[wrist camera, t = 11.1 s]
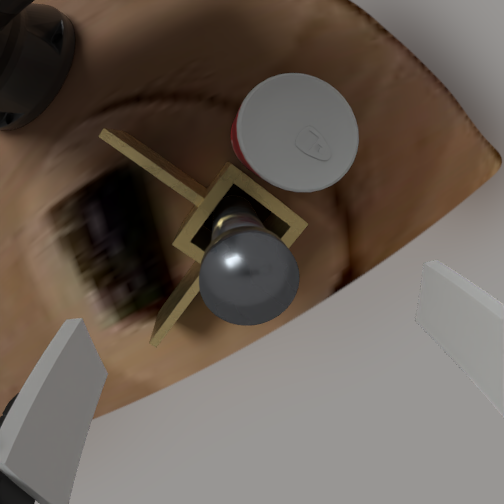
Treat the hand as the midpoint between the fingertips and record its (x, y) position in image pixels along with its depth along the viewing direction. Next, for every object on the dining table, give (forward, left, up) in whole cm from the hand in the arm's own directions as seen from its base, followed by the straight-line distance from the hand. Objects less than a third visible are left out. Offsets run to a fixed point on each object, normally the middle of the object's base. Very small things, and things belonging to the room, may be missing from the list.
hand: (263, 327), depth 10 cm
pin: (0, 0, -20) cm, 20 cm away
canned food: (-2, +8, -20) cm, 22 cm away
